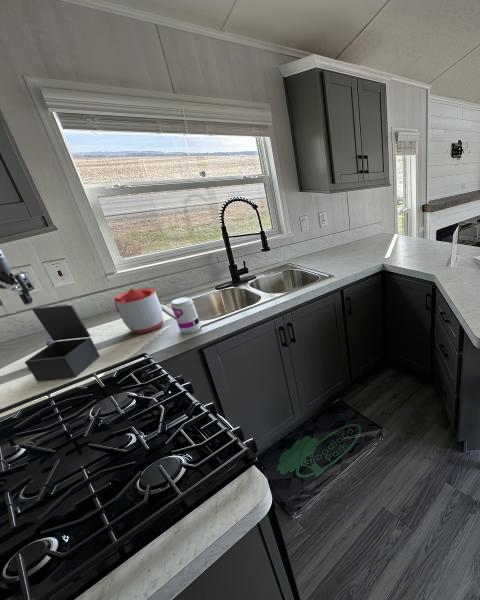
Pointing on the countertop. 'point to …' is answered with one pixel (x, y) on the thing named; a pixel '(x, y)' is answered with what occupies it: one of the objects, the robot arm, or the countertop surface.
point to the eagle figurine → (49, 341)
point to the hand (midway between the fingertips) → (14, 304)
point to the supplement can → (185, 315)
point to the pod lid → (61, 322)
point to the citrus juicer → (139, 309)
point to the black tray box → (63, 359)
